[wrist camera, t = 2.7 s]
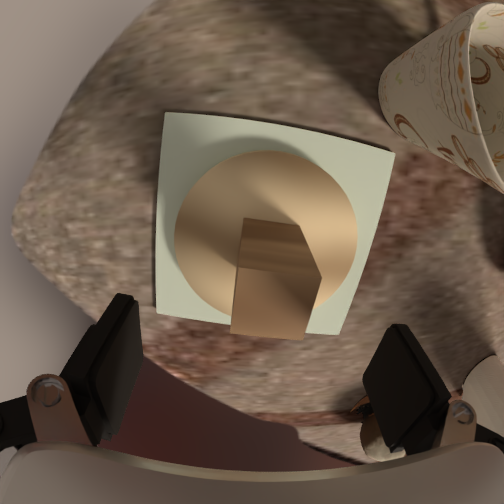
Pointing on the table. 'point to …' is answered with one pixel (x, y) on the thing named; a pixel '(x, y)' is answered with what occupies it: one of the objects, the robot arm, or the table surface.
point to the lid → (266, 241)
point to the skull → (373, 434)
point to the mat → (251, 139)
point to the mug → (453, 93)
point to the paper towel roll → (487, 393)
